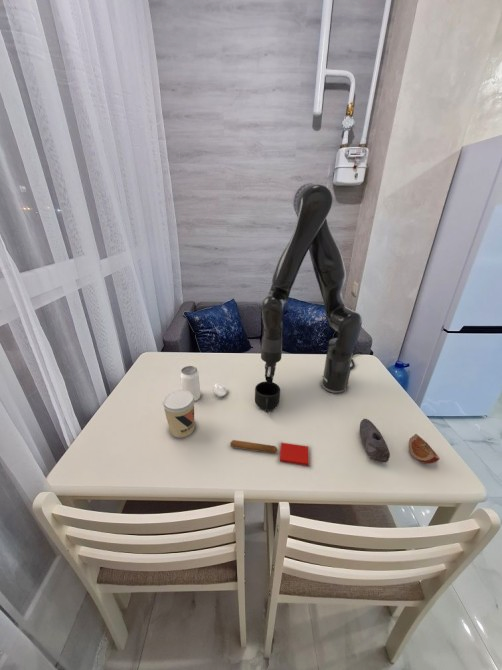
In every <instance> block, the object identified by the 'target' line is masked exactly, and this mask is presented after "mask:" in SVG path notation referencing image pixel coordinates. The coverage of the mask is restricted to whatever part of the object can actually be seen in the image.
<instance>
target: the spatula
mask: <svg viewBox="0 0 502 670" xmlns="http://www.w3.org/2000/svg"><path fill="white" fill-rule="evenodd" d="M230 446H231V447H232V448H234V449H242V450H248V451H255V452H262V453H269V454H276V453H277V452H278V447H277V446H276V445H271V444H265V443H264V444H263V443H256V442H252V441H251V442H249V441H242V440H236V439H232V440H231V441H230ZM309 457H310V456H309V446H307V445H301V444H294V443H287V442H281V443H280V454H279V462H280V463H286V464H293V465H300V466H304V467H305V466H306V467H309V465H310V462H309V460H310V459H309Z"/></svg>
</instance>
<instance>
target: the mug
mask: <svg viewBox="0 0 502 670" xmlns="http://www.w3.org/2000/svg"><path fill="white" fill-rule="evenodd" d="M280 401H281V387H280V386H279V384H277V383H276V382H274V381H273V382H268V381H266V380H265V381H261V382H258V383H257V384H256V385H255V388H254V402H255V405H256V406H257V407H258V408H259V409H261V410H262V411H263V410H264V411H265V413H267V414H268V413H269V411H271V410H274V409H276V408H277V407H278V406H279V404H280Z"/></svg>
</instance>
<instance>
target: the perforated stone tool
mask: <svg viewBox="0 0 502 670" xmlns="http://www.w3.org/2000/svg"><path fill="white" fill-rule="evenodd" d="M359 435H360V439H361V441H362V444H363V447H364V449H365V452H366V454H367V456H368V457H369V459H370V460H372V461H375V462H379V463H381V464H382V463H385V464H386V463H388V462H389V460H390V456H391V453H390V449H389V447H388V444H387V442H386V440H385V438H384V436H383V435H382V433H381V432H380V430H379V429H378V428H377V426H376V425H375V423H373V422H372V421H371V420H370V419H368V418H363V419H362V420H361V421H360V423H359Z"/></svg>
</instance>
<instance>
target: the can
mask: <svg viewBox="0 0 502 670" xmlns="http://www.w3.org/2000/svg"><path fill="white" fill-rule="evenodd" d="M180 383H181V390H184V391H188V392H190V393H191V394H192V395H193V396H194V402H196V401H198V400H199V399H200V398H201V384H200V383H201V382H200V373H199V371H198V368H197V366H194V365H187V366H184V367H183V368H181V370H180Z"/></svg>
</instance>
